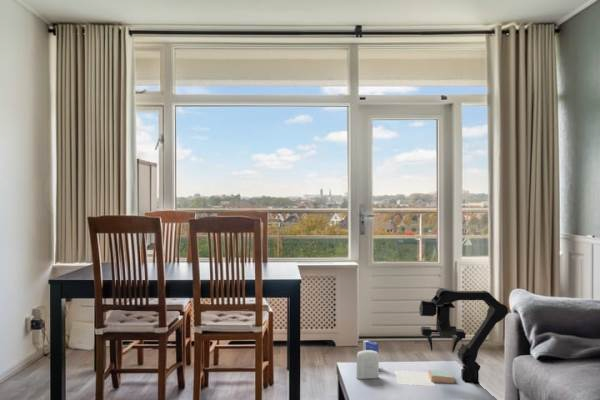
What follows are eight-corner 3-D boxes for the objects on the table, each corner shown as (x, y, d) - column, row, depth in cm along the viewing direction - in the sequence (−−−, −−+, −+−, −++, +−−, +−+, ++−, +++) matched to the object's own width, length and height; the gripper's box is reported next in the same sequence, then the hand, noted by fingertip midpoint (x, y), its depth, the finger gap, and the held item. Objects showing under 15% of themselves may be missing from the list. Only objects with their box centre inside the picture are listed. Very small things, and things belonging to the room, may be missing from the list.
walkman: (378, 367, 215) (378, 343, 215) (374, 369, 213) (374, 344, 214) (366, 363, 221) (366, 339, 221) (362, 364, 219) (362, 340, 220)
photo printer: (377, 375, 205) (377, 348, 206) (379, 378, 201) (380, 351, 201) (355, 376, 204) (355, 349, 204) (357, 379, 200) (358, 352, 200)
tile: (428, 375, 204) (450, 378, 203) (431, 381, 197) (454, 384, 196) (428, 369, 204) (450, 372, 203) (431, 375, 197) (454, 377, 196)
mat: (429, 373, 208) (429, 372, 208) (435, 387, 192) (435, 385, 192) (394, 371, 210) (394, 370, 210) (398, 385, 194) (398, 383, 194)
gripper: (424, 319, 194) (423, 355, 193) (469, 322, 191) (468, 359, 191) (421, 313, 205) (419, 347, 204) (462, 316, 202) (461, 351, 202)
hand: (442, 351), depth 200 cm, fingers open, 9 cm apart
